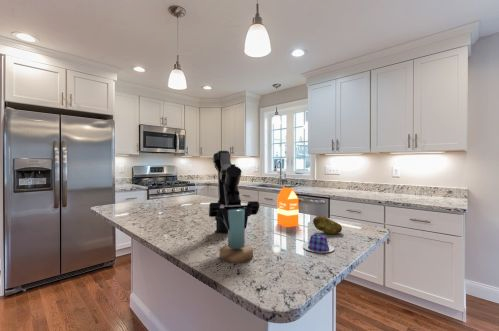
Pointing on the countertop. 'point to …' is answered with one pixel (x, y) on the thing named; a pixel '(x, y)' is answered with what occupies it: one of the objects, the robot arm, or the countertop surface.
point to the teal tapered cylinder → (236, 228)
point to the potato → (327, 225)
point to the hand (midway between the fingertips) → (237, 228)
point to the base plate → (236, 254)
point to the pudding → (318, 244)
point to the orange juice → (287, 208)
